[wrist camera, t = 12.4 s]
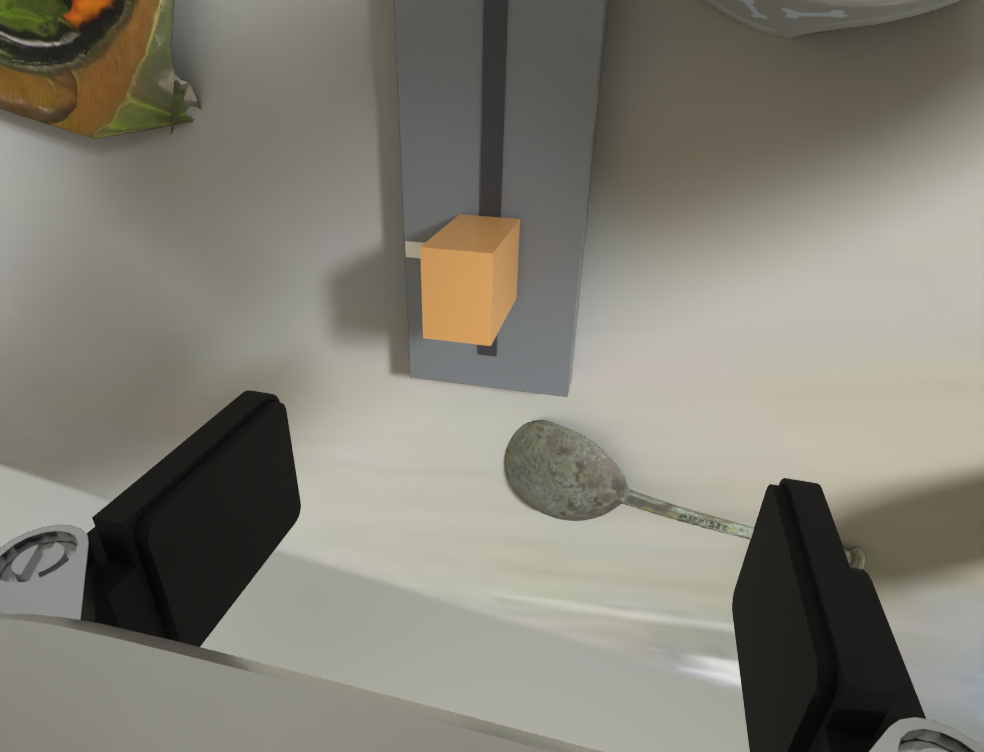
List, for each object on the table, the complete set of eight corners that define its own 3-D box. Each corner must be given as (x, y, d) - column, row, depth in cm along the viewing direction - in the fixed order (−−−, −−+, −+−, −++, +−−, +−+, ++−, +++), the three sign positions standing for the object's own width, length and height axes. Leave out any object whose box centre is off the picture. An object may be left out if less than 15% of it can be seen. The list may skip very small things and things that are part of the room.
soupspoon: (519, 394, 38) (497, 473, 41) (506, 424, 35) (483, 505, 38) (883, 515, 35) (826, 588, 38) (901, 558, 32) (838, 632, 36)
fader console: (405, -123, 26) (386, -137, 24) (619, -129, 24) (617, -145, 22) (421, 361, 37) (409, 378, 35) (571, 380, 35) (566, 398, 33)
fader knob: (459, 214, 30) (420, 247, 24) (520, 218, 29) (493, 253, 24) (459, 292, 32) (423, 338, 26) (516, 298, 31) (490, 345, 26)
